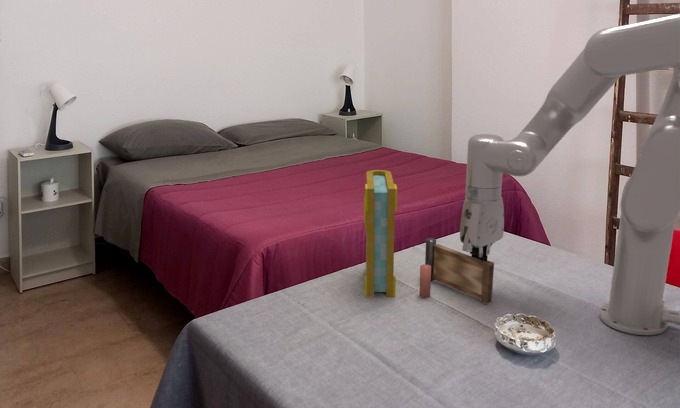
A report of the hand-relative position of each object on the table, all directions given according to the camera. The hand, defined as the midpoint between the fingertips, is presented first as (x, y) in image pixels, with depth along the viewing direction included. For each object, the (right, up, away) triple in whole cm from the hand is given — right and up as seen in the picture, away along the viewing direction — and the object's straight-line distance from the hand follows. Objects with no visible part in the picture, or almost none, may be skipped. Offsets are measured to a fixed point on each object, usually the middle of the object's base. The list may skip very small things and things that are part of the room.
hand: (478, 270), depth 138 cm
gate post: (-10, -3, +8) cm, 13 cm away
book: (-22, -3, +8) cm, 23 cm away
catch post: (-12, -6, 0) cm, 13 cm away
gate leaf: (-4, -5, +1) cm, 6 cm away
